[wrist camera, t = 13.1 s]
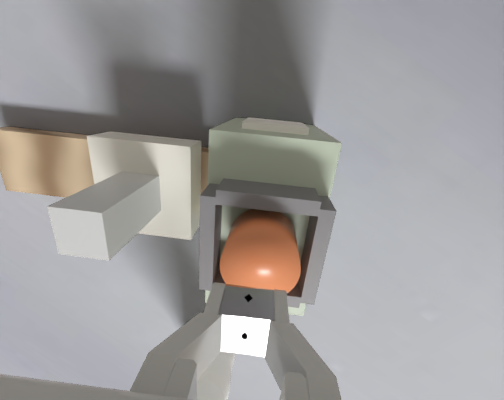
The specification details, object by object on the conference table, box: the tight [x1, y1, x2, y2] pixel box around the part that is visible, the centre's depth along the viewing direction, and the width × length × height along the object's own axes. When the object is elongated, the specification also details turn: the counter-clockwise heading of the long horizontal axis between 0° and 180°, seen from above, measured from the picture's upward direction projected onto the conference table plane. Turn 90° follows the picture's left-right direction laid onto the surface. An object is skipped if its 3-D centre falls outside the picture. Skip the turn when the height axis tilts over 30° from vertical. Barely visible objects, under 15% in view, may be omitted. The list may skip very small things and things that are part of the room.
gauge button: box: [220, 209, 301, 293], centre depth 14 cm, size 4×4×3 cm
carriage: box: [47, 131, 202, 261], centre depth 18 cm, size 8×8×10 cm
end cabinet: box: [199, 117, 342, 316], centre depth 19 cm, size 7×12×12 cm, turn 175°
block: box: [0, 127, 209, 197], centre depth 24 cm, size 22×6×2 cm, turn 85°
